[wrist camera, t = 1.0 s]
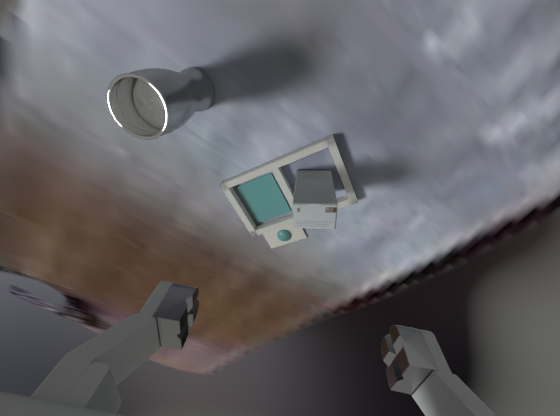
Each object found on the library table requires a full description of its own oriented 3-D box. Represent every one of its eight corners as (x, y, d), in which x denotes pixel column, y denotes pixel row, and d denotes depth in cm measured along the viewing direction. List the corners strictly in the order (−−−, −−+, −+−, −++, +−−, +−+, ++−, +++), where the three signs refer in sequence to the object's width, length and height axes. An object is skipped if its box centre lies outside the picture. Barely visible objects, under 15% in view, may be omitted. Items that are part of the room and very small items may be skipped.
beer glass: (226, 94, 39) (183, 115, 26) (197, 122, 42) (145, 153, 29) (193, 53, 37) (128, 53, 24) (164, 85, 40) (92, 101, 27)
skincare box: (296, 191, 46) (291, 231, 36) (296, 168, 44) (290, 203, 34) (331, 191, 45) (335, 232, 35) (332, 168, 43) (338, 204, 33)
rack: (332, 134, 40) (333, 137, 39) (364, 219, 48) (366, 223, 46) (222, 181, 47) (219, 185, 46) (265, 249, 54) (263, 254, 53)
